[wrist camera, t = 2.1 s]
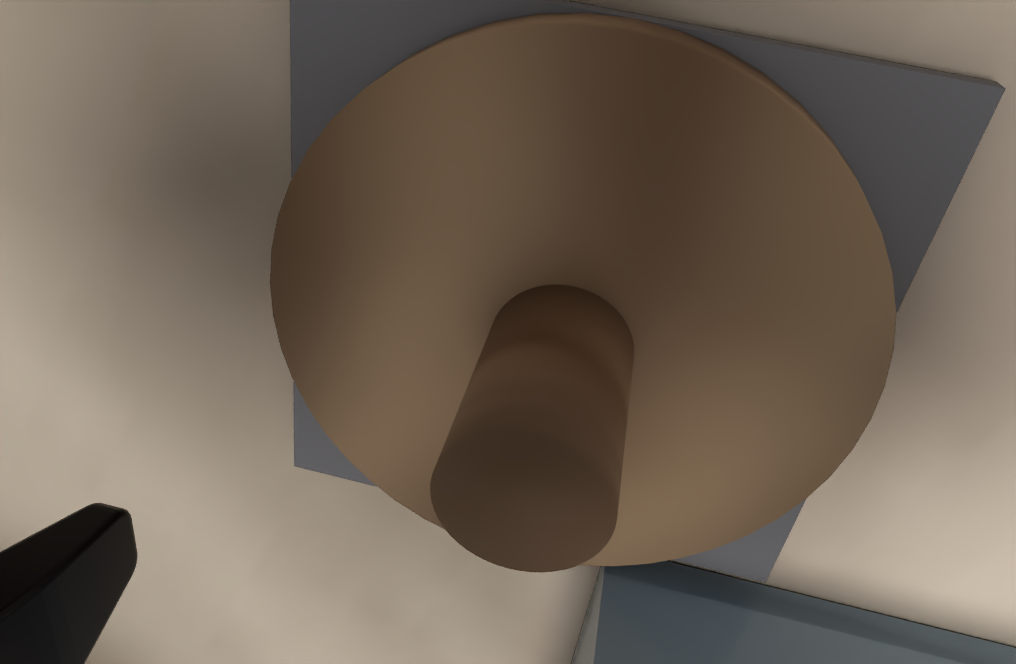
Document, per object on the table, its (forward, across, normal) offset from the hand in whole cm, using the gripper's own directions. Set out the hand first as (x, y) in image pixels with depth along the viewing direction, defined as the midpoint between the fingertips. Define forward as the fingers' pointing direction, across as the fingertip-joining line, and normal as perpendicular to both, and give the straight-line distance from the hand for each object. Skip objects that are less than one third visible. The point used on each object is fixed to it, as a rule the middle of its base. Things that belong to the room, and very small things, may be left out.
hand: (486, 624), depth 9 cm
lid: (+7, 0, 0) cm, 7 cm away
